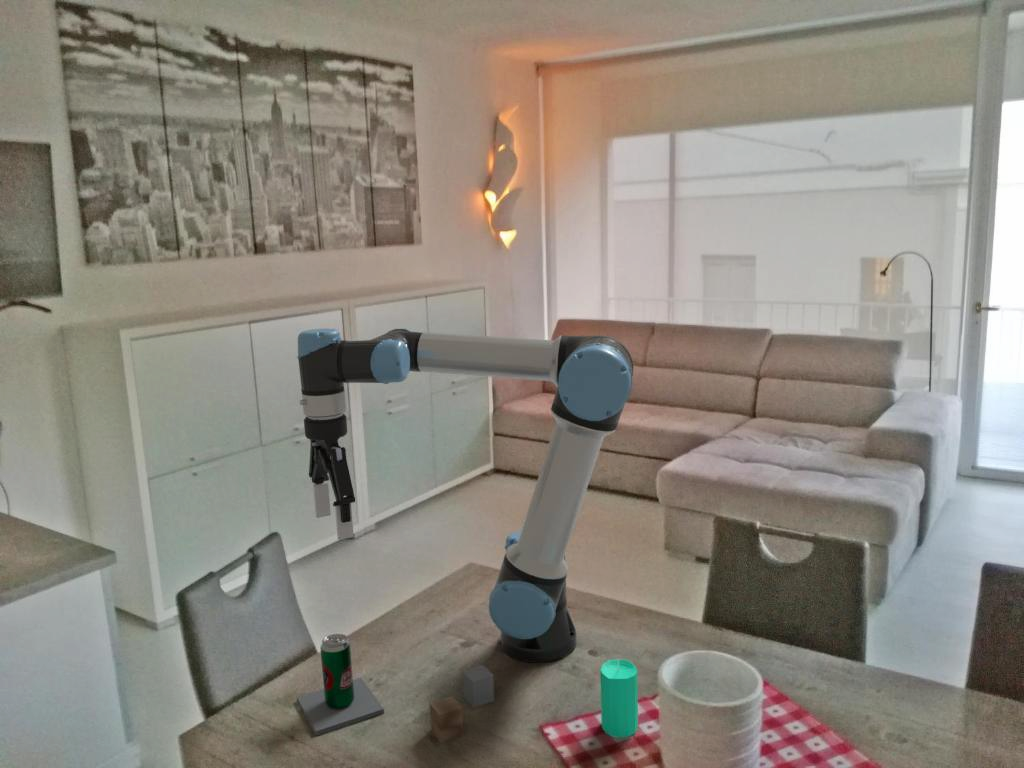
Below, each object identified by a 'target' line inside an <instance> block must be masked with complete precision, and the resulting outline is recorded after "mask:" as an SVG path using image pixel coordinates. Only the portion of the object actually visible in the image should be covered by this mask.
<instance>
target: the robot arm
mask: <svg viewBox="0 0 1024 768" xmlns="http://www.w3.org/2000/svg"><path fill="white" fill-rule="evenodd" d="M297 360H298V369H299V378H300V386H301V389H300V391H301V398H302V399H301V400H299V402H298V403H299V405H300V406H302V411H303V415H304V416H305V417H304V418H303V426H304V427H303V429H304V436H305V437H306V439H308V440H309V441H310V449H309V450H310V452H309V465H308V477H309V478H310V479H311V482H312V483H313V484H312V486H313V487H312V488H313V498H314V499H313V500H314V511H315V517H316V518H317V519H320V518H324V517H329V516H331V515H332V513H331V502H330V499H331V498H330V490H329V481H330V485H331V487H332V491H333V494H334V495H333V496H334V498H335V501H333V504H332V506H333V507H334V509H335V510H334V512H335V521H336V522H335V524H336V533H337V534H336V536H337V539H338V541H341V540H346V539H351V538H354V537H355V536H354V526H353V525H354V524H353V511H352V510H353V508H352V503H356V497H355V492H354V487H353V484H352V479H351V474H350V473H351V472H350V469H349V465H348V460H347V451H346V450H347V449H346V447H345V446H342V447H341V446H340V445H339V444H340V443H339V440H340V438H343V437H345V436H346V435H347V434H348V422H347V416H346V414H345V413H346V411H347V405H346V404H347V403H346V394H345V386H344V385H345V384H346V383H347V384H352V383H353V384H354V383H355V384H357V383H358V384H361V383H363V384H383V385H388V384H390V383H402V382H404V381H405V380H406V379H407V378H408V374H409V372H418V373H419V372H420V373H434V374H435V373H436V374H446V375H447V374H450V375H460V376H461V375H464V376H479V377H490V378H492V377H493V378H505V379H519V380H531V381H532V380H533V381H544V382H545V381H546V382H551V383H553V384H554V386H556V387H557V388H556V390H555V394H554V398H553V400H552V404H551V407H550V412H551V414H552V416H553V418H554V420H555V423H554V426H553V430H552V432H551V433H552V434H551V436H550V439H549V442H548V444H547V445H548V446H547V449H546V453H545V455H544V458H543V462H542V464H541V468H540V471H539V475H538V478H537V481H536V484H535V487H534V490H533V493H532V495H531V499H530V502H529V506H528V509H527V512H526V516H525V518H524V522H523V525H522V528H521V530H519V531H515V532H512V533H510V534H509V535H508V536H506V538H505V546H504V549H505V554H504V557H503V560H502V563H501V566H500V569H499V572H498V575H497V578H496V582H495V585H494V588H493V589H492V590H491V592H490V594H489V597H488V613H489V617H490V619H491V620H492V622H493V623H494V624H495V627H496V628H498V630H500V631H501V632H500V646H501V649H502V651H503V652H504V653H505V654H506V655H508V656H509V657H511V658H513V659H515V660H519V661H522V662H523V661H524V662H529V663H530V662H531V663H545V662H552V661H556V660H559V659H562V658H564V657H566V656H568V655H570V654H571V653H573V651H574V650H575V648H577V631H576V627H575V624H574V621H573V619H572V617H571V614H570V612H569V611H570V610H569V608H568V605H567V604H568V603H567V576H568V573H569V565H568V564H567V562H566V553H567V549H568V546H569V543H570V540H571V538H572V534H573V531H574V528H575V525H576V522H577V519H578V516H579V513H580V510H581V507H582V504H583V501H584V498H585V495H586V492H587V489H588V486H589V483H590V480H591V477H592V474H593V472H594V468H595V465H596V462H597V459H598V457H599V453H600V451H601V447H602V444H603V441H604V440H605V437H606V436H608V435H611V434H613V433H615V432H616V430H617V428H618V425H619V422H620V419H621V415H622V413H623V410H624V407H625V405H626V403H627V402H628V400H629V398H630V396H631V392H632V388H633V376H634V362H633V359H632V355H631V354H630V351H629V350H628V349H627V347H626V346H625V345H624V344H623V343H622V342H620V341H619V340H617V339H615V338H613V337H610V336H608V335H564V334H563V335H559V336H558V337H556V338H555V339H554V340H552V339H536V338H535V339H533V338H521V337H520V338H517V337H505V336H503V337H502V336H488V335H487V336H486V335H484V336H483V335H471V334H455V333H453V334H452V333H440V332H439V333H437V332H436V333H435V332H419V331H413V330H411V329H409V328H404V327H403V328H394V329H392V330H389V331H387V332H385V333H384V334H382V335H379V336H377V337H374V338H372V339H369V340H368V339H367V340H366V339H365V340H342V336H341V334H340V331H339V330H338V329H337V328H314V329H313V328H312V329H307V330H303V331H301V332H300V333H299V334H298V336H297ZM344 383H345V384H344Z"/></svg>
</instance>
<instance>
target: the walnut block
mask: <svg viewBox="0 0 1024 768" xmlns="http://www.w3.org/2000/svg"><path fill="white" fill-rule="evenodd" d="M429 710H430V711H429V712H430V714H429V715H430V727H431V728H430V729H431V731H432V733H433V734H434V735H435V738H437V739H438V740H439V742H440V743H441V744H442V743H445V742H448V741H451V740H454V739H456V738H459V737H461V736H464V723H463V708H462V706H461V705H460V704H459V702H458V701H457V700H456V698H454V697H453V696H452V695H450V696H448V697H445V698H441V699H439V700H436V701H433V702H430V703H429Z"/></svg>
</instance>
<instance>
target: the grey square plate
mask: <svg viewBox="0 0 1024 768" xmlns="http://www.w3.org/2000/svg"><path fill="white" fill-rule="evenodd" d="M353 687H354V700H353V702H352V703H351V704H350V705H349V706H347V707H345V708H341V709H333V708H330V707H329V706H327V705H326V703H325V694H324V688H322V689H319V690H315V691H312V692H309V693H306V694H303V695H299V696H296V702H297V703H298V706H299V707H300V709H301V711H302V712H304V713H303V714H305V715H304V716H305V718H306V720H307V722H308V723H310V724H309V725H310V727H311V730H312V731H313V733H314V735H315V734H316V735H317V736H319V735H323V734H325V733H329V732H332V731H335V730H337V729H338V730H339V729H340V728H344V727H347V726H349V725H353V724H355V723H358V722H361V721H364V720H367V719H370V718H373V717H377V716H380V715H383V714H385V709H384V706H382V704H381V703H380V702H379V700H378V699H377V697H376V696H375V695H374V693H373V692H372V690H371V689H370V688H369V686H368V685H367V683H365V681H364V680H363V678H362V676H361V677H357V678H355V679H354V678H353ZM328 731H329V732H328ZM316 735H315V736H316Z"/></svg>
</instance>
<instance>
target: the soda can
mask: <svg viewBox="0 0 1024 768" xmlns="http://www.w3.org/2000/svg"><path fill="white" fill-rule="evenodd" d="M320 658H321V671H322V672H321V673H322V680H323V689H324V694H325V703H326V705H327V706H329V707H330V708H333V709H341V708H345V707H347V706H349V705H350V704H351V703H352V702H353V700H354V687H353V680H354V676H353V675H354V674H353V665H352V663H353V662H352V652H351V642H350V640H348V637H347V635H345V634H342V633H334V634H330V635H327V636H325V637H323V639H322V641H321V645H320Z"/></svg>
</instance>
